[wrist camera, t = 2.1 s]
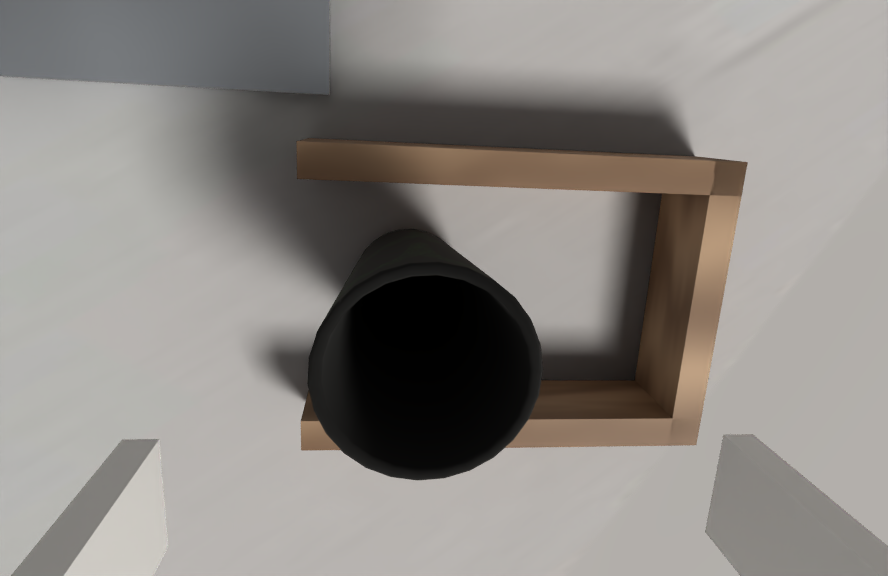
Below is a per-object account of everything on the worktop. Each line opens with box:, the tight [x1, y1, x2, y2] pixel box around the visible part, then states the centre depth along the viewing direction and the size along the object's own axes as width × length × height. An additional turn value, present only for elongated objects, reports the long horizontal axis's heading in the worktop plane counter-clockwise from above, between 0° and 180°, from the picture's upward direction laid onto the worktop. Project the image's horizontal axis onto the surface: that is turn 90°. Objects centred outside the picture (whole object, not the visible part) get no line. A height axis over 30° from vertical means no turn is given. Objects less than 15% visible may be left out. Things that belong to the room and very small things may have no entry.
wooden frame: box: [297, 138, 748, 450], centre depth 29 cm, size 14×20×4 cm
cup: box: [308, 229, 543, 480], centre depth 25 cm, size 8×8×12 cm
